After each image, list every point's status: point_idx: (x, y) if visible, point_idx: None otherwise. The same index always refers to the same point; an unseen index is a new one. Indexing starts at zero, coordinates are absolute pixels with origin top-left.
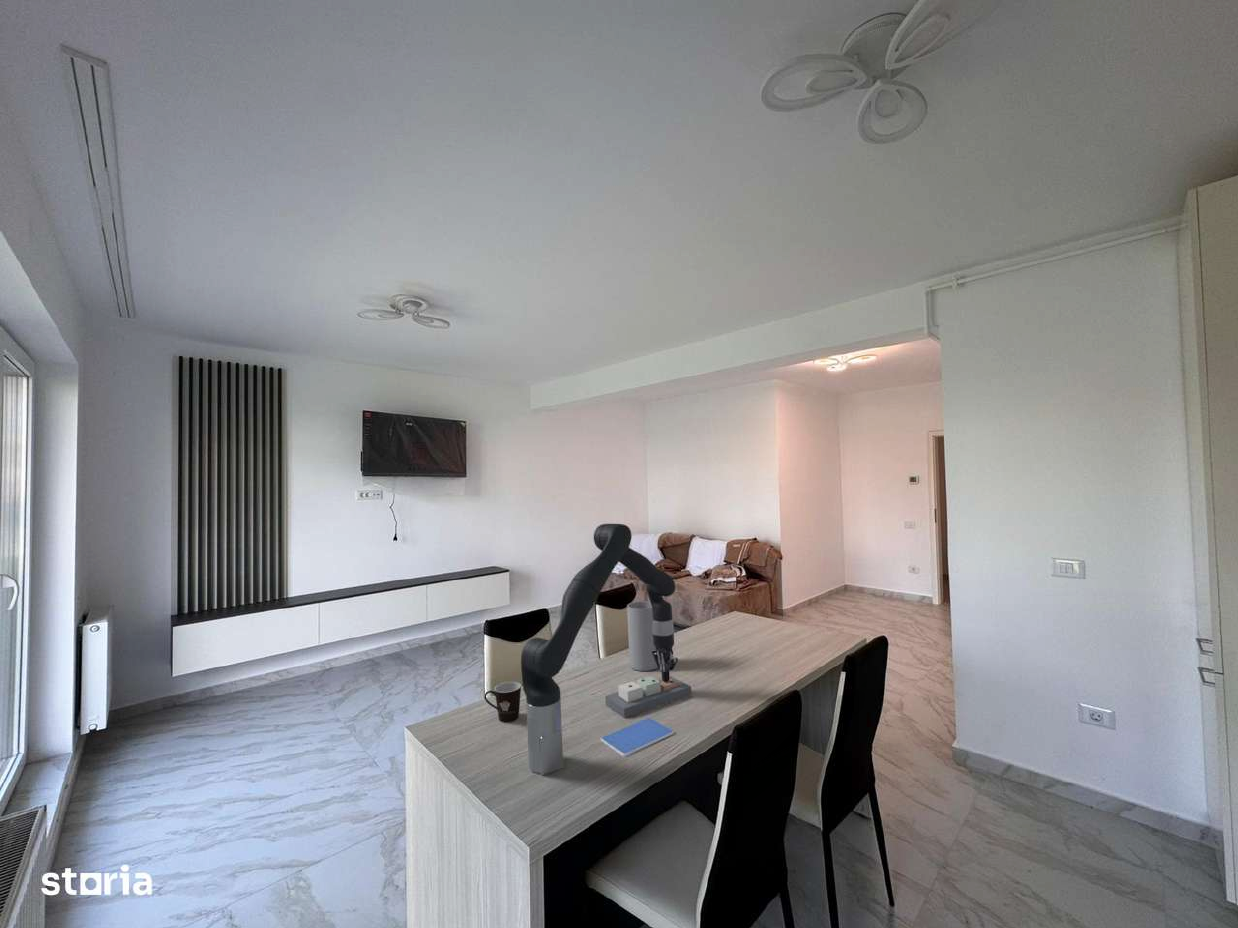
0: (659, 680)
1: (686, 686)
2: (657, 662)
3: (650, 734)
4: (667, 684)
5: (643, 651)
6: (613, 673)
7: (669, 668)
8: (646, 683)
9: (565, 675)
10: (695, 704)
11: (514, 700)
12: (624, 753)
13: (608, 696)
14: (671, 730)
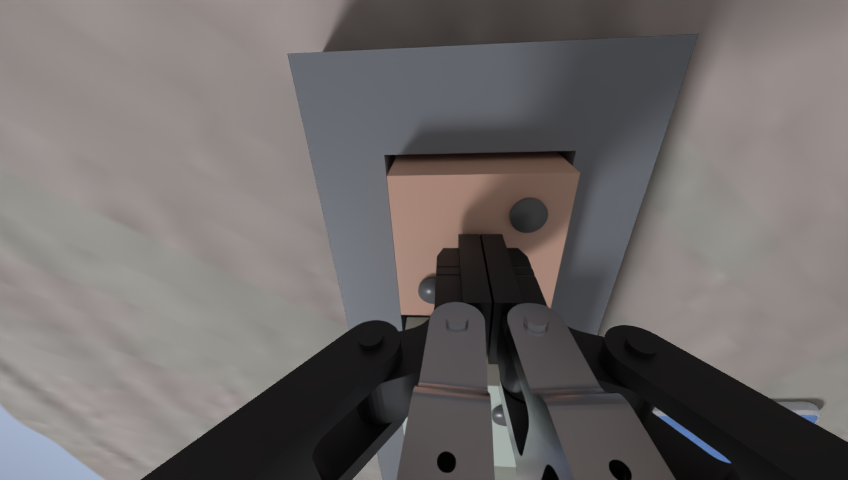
0: (429, 288)
1: (649, 85)
2: (364, 451)
3: (729, 462)
4: (539, 277)
5: None
6: (12, 280)
7: (692, 451)
8: (502, 451)
9: (34, 420)
10: (778, 138)
11: None
12: None
13: (394, 476)
14: (806, 416)
